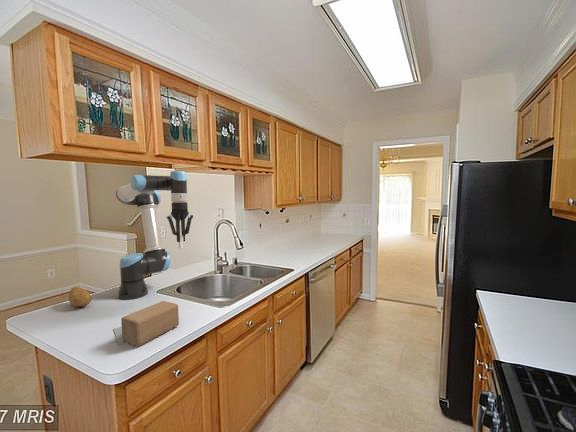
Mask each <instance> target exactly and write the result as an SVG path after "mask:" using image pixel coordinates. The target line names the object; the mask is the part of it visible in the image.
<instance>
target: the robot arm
mask: <svg viewBox="0 0 576 432" xmlns="http://www.w3.org/2000/svg"><path fill="white" fill-rule="evenodd" d="M187 179H188V178H187V173H186V171H182V170H172V171H170V174H169V175H150V174H149V175H148V174H147V175H146V174H133V175H132V176H131V179H130V183H127V184H126V185H121V186H120V187H118V188H117V189H116V191H115V197H116V199H117V201H119V202H120V203H122V204H124V205H126V206H137V210H139V211H140V214H141V221H142V228H143V234H144V240H145V246H146V247H145V248H146V249H145V250H144V254H143V253H142V252H137V253H136V252H135V253H130V254H127V255H124V256H123V257H121V258H119V259H120V260H119V271H120V284H119V285H120V286H119V290H118V293H117V298H118V299H120V300H134V299H138V298H143V297H145V296H147V295H148V294H149V289H148V287H147V284H146V282H145V276H146V275H151V274H157V273H162V272H166V271H167V270H168V269H169V268H170V266H171V254H170V252H169V251H166V248H165V247H164V246H163V243H162V238H161V232H160V226H159V220H158V214H157V208H158V207H159V205H160V204H161V194H160V191H166V192H167V191H170V194H171V197H170V198H171V212H170V214H169V215H167V216H166V220H167V221H168V223H169V226H170V227H169V228H170V229H171V232H172V233H171V234H172V235H174V236H175V237H176V242H177V243H178V248H179V249H180V250H181V249H184V242H186V235H188V234H189V233H190V228H191V224H192V223H191V222H192V219H193V218H194V215H193V214H190V212H189V210H188V209H189V208H188V202H187V201H188V188H187V187H188V186H187V185H188V182H187V181H188V180H187ZM173 219H174V220H175V224H174V221H173ZM186 219H187V220H186Z"/></svg>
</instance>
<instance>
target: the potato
mask: <svg viewBox="0 0 576 432" xmlns="http://www.w3.org/2000/svg"><path fill="white" fill-rule="evenodd" d="M68 302H69V303H70V305H71V306H73V307H76V308H79V307H86V306H87V305H89V304H90V303H91V302H92V296H91V294H90V293H89V291H87V290H86V289H84V288H83V287H81V286H73V287H72V288H71V289H70V291H69V293H68Z"/></svg>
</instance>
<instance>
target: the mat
mask: <svg viewBox="0 0 576 432" xmlns="http://www.w3.org/2000/svg"><path fill="white" fill-rule="evenodd" d="M173 330H174V328H173V329H171V331H173ZM113 331H114V334H115V337H116V341H117V344H118V346H122V345H125V344H128V343H127V342H125V341H123V339H122V326H120V327H115V328H113ZM171 331H170V330H169V331H168V332H171Z"/></svg>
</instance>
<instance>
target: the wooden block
mask: <svg viewBox="0 0 576 432" xmlns="http://www.w3.org/2000/svg"><path fill="white" fill-rule="evenodd" d="M179 316H180V315H179V305H178V303H174V302H170V301H167V300H166V301H165V300H161V301H160V302H157V303H153V304H152V305H149V306H147V307H146V306H145V307H143V308H141V309H139V310H137V311H134V312H132V313H129V314H126V315H124V316H122V317H121V327H122V339H123V341H125V342H127V343H126V344H130V345H132V346H134V347H135V346H136V347H139V346H141V345H143V344H145V343H148V342H149V341H151V340H153V339H155V338H156V337H159V336H161V335H163V334H164V333H168V332H170V331H169V330H171V329H173V330H174V328H176V327H178V326H179V324H180V319H179V318H180V317H179ZM167 331H168V332H167ZM171 331H172V330H171Z"/></svg>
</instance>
